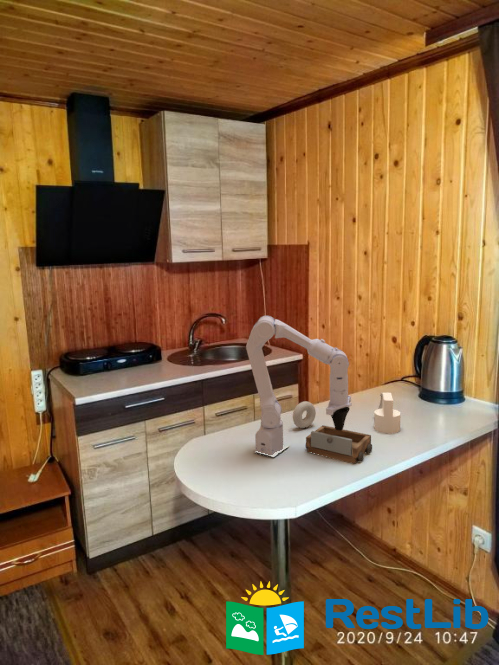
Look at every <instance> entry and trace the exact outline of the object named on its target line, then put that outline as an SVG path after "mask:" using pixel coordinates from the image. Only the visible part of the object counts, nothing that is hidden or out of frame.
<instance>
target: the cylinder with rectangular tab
mask: <svg viewBox="0 0 499 665" xmlns="http://www.w3.org/2000/svg"><path fill="white" fill-rule="evenodd" d="M381 393H382V409H378V408H377V409H375V410H374V412H373V414H374V415H373V416H374V417H373V419H374V421H373V425H374V427H373V428H374V430H375V431H377V432H378V433H382V434H395V433H398V432H400V431H401V411H399V410H397V409H394V399H393V396H392V392H381Z"/></svg>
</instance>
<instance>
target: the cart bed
mask: <svg viewBox="0 0 499 665" xmlns="http://www.w3.org/2000/svg"><path fill="white" fill-rule="evenodd" d="M315 431H316V432H320V433H325V434H330V435H334V436H339V437H344V438H348V439H352V455H351V456H349V455H345V454H341V453H337V452H332V451H328V450H324V449H320V448H315V447H311V433H310V434H309V435H307V436H306V437H305V448H306V450H307V453H308V452H312V453H311V454H313V453H315V454H314V455H317V454H319V455H318V456H321V455H323V456H322V457H325V456H327V457H326V458H329V457H330V458H329V459H333V458H334V459H333V460H337V459H338V461H341V462H346V463H350V464H353V465H355V464H356V463H357V462H360V463H362V462H363V461H364V458H365V454H371V453H372V450H373V444H372V435H371V434H366V433H363V432H356V431H352V430H347V429H343V430H341V431H340V430H336V429H335V427H334V426H333V427H332V426H328V425H321V426H320V427H318V428H316V430H315Z"/></svg>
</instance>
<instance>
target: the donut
mask: <svg viewBox="0 0 499 665" xmlns="http://www.w3.org/2000/svg"><path fill="white" fill-rule="evenodd" d="M305 411H306V415H305V417H304V418H303V414H304V412H305ZM316 411H317V410H316V408H315V405H314V404H313V403H311V402H310V401H305V400H304V401H301V402H299V403H298V404H297V405H296V406H295V408H294V410H293V413H292V421H293V423H294V425H295V427H298V428H299V427H300V429H305V427H306V428H308V427H310V426H312V424H313V423H314V421H315V418H316Z"/></svg>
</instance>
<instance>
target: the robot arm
mask: <svg viewBox="0 0 499 665" xmlns="http://www.w3.org/2000/svg"><path fill="white" fill-rule="evenodd" d="M273 336H274V339H281V338H285V339H287V340H289V341H290V342H293V343H295V344H297V345H299V346H301V347H303V348H304V349H306V350H307V352H306V353H307V354H308V355H309V356H311V357H312V358H315V359H316V360H317V361H319V362H321V363H323V364H325V365H328V366H329V368H330V369H329V370H330V371H329V372H330V373H329V401H328V405H327V407H326V408H325V414H326V416H327V415H328V416H330V417H331V419H332V423H333V427H334V428H335V429H336V430H340V431H341V430H344V427H345V422H346V419H347V416H348V413H349V412H350V407H351V406H352V403H351V402H352V396H351V395H349V374H348V369H349V367H350V363H349V359H348V356H347V354H346V353H345V352H344V351H343V350H342V349H339V348H338V347H336V346H335V347H333V346H331V345H329V344H328V343H326V340H325V339H323V338H320V339H319V338H314V339H311V338H310V337H308V336H306V335H304V334H303V333H301V332H299V331H298V330H296V329H295V328H293V327H292V326H290V325H288V324H287V323H285V322H283V321H281V320H280V319H278V318H277V319H276V318H274V317H272V316H271V315H263V316H260V318H259V319H258V320H256V322H255V324H254V325H253V327H252V329H251V331H250V334H249V337H248V339H247V343H246V346H245V350H246V353H247V356H248V360H249V363H250V367H251V371H252V375H253V378H254V379H253V380H254V382H255V386H256V389H257V393H258V396H259V403H260V410H261V414H260V426H259V429H258V430H257V431H256V433H255V436H254V437H255V440H254V441H255V450H256V451H258V452H261V453H265V454H268V455H273V454H274V453H275V452H277V451H280V450H282V449H283V445H284V423H283V422H284V421H283V420H282V419H281V416H282V414H281V413H282V412H283V408H282V405H281V403H280V402H279V401H278V399H277V396H276V395H275V393H274V390H273V385H272V382H271V377H270V375H269V374H270V373H269V369H268V366H267V363H266V359H265V355H264V351H263V347H264V346H265V344H266V343H267V341H269V340H270V339H272V338H273Z"/></svg>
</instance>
